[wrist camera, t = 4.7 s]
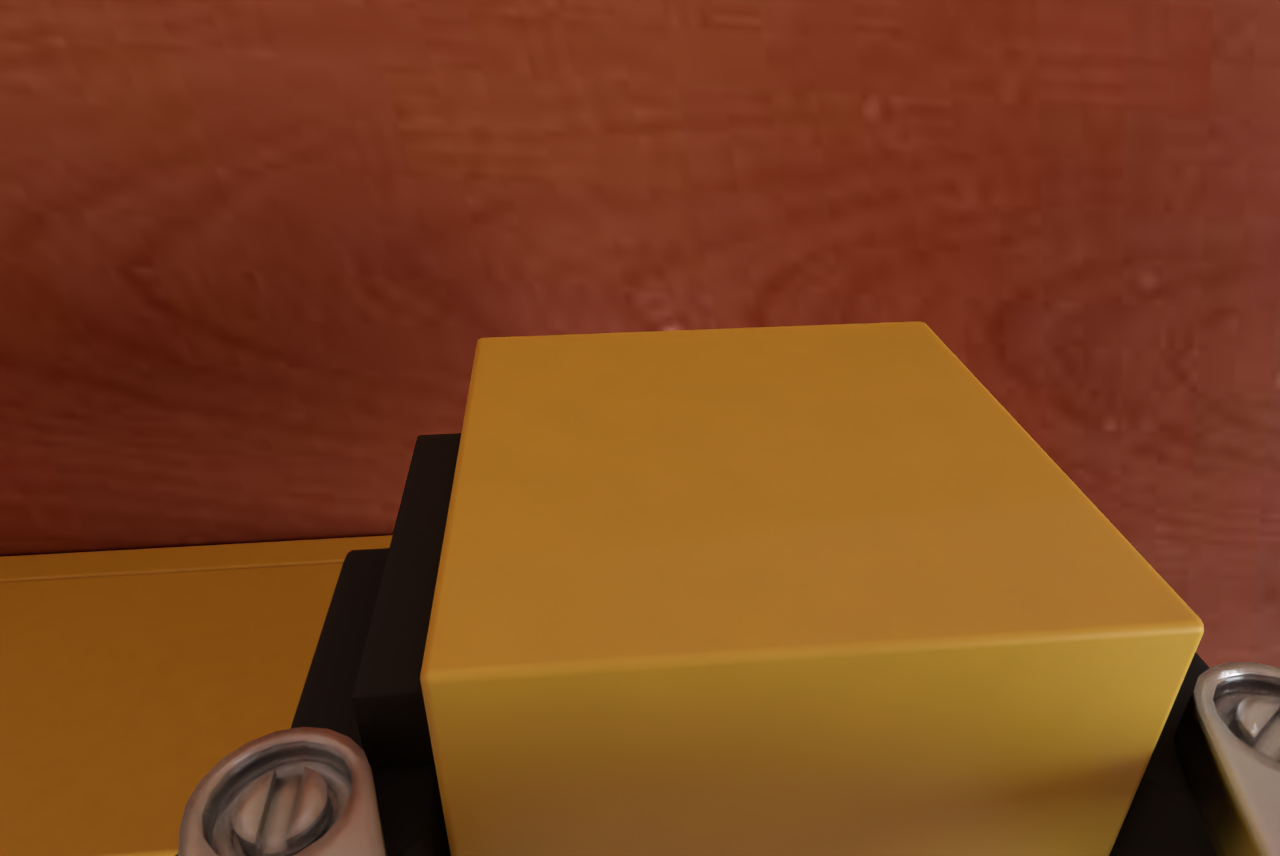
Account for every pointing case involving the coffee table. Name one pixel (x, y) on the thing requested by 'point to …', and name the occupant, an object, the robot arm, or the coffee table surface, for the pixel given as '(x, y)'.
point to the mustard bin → (146, 681)
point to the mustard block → (781, 608)
